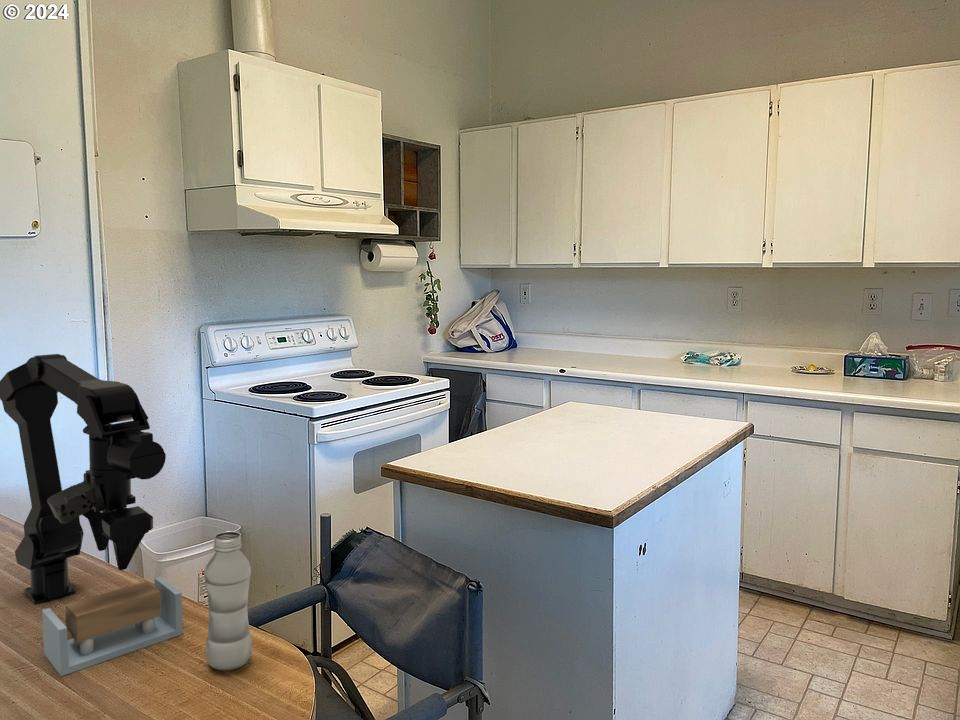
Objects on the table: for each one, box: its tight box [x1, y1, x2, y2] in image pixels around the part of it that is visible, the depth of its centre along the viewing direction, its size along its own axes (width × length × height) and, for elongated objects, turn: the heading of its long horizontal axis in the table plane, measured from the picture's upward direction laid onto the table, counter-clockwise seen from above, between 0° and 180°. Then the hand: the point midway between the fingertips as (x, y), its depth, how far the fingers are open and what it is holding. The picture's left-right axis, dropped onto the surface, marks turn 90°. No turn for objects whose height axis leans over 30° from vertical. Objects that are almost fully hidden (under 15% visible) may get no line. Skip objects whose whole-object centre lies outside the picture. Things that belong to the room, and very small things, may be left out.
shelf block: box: [64, 580, 161, 642], centre depth 111 cm, size 5×12×4 cm, turn 136°
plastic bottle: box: [203, 530, 253, 672], centre depth 106 cm, size 6×7×20 cm
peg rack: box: [41, 575, 184, 677], centre depth 111 cm, size 8×18×7 cm, turn 136°
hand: (112, 559), depth 115 cm, fingers open, 9 cm apart
